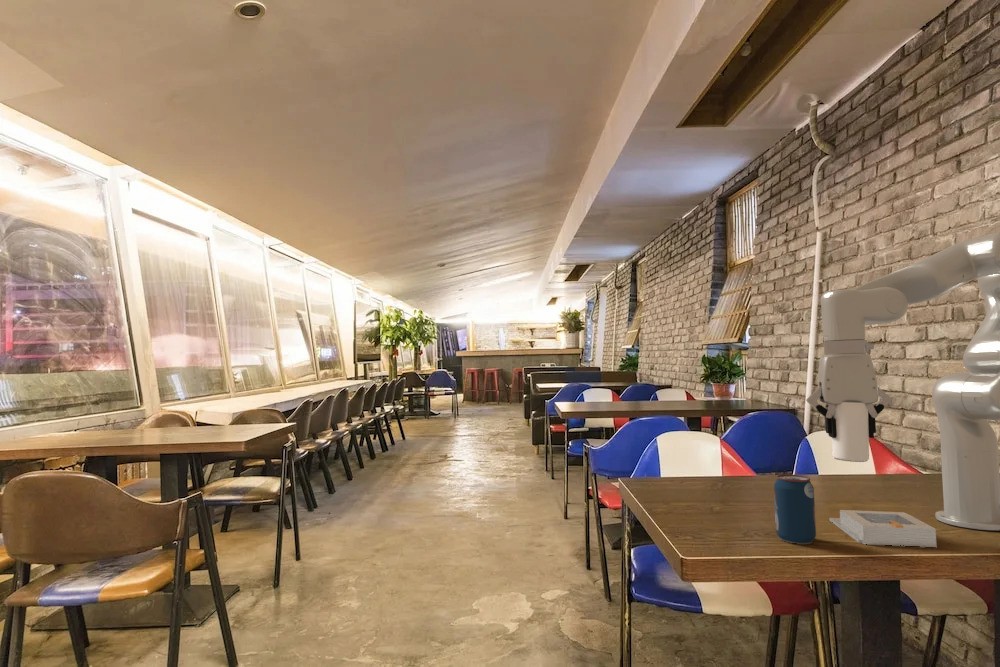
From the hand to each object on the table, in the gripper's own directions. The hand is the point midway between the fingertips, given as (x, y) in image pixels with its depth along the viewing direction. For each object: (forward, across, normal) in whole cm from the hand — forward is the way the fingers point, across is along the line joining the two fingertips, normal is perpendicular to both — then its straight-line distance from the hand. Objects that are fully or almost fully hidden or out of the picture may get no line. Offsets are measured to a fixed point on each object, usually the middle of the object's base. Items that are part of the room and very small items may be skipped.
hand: (850, 436), depth 118 cm
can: (+5, 0, 0) cm, 5 cm away
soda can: (+19, +14, +10) cm, 25 cm away
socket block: (+19, -4, +1) cm, 20 cm away
